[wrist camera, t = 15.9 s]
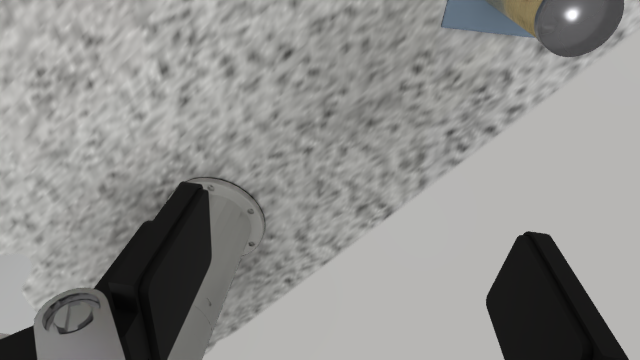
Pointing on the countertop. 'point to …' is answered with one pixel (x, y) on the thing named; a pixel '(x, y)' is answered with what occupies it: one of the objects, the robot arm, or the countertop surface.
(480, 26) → the rubber mat
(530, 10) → the spice shaker
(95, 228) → the countertop surface
